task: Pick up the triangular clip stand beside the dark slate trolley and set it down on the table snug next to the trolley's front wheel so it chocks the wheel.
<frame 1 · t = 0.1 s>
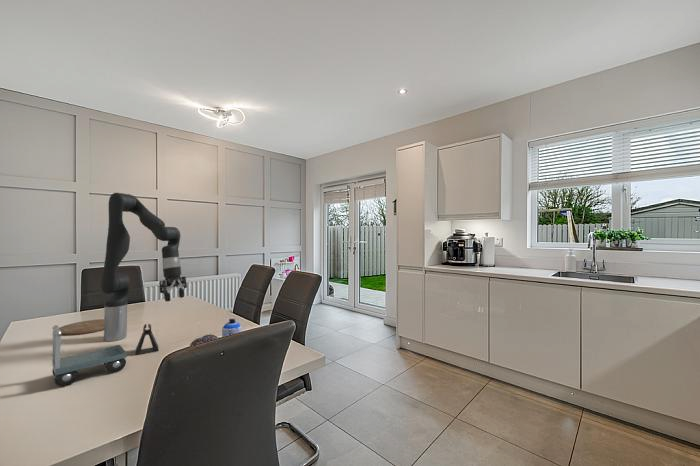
hand: (175, 299, 143), 22 cm above the table, tool pointing down, fingers open, 8 cm apart
trivet: (87, 329, 166), on the table
decorative flower: (201, 363, 123), on the table
trolley: (90, 374, 112), on the table
aerosol can: (231, 368, 118), on the table
triangular clip stand: (146, 351, 134), on the table
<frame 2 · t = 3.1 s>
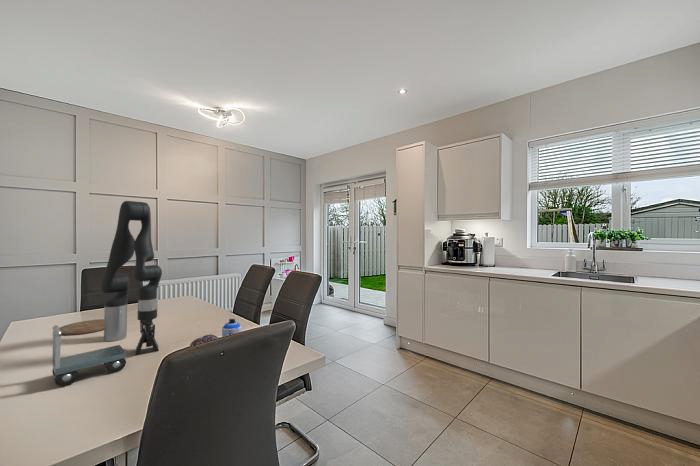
hand: (147, 344, 134), 3 cm above the table, tool pointing down, fingers closed on triangular clip stand, 6 cm apart
triangular clip stand: (146, 351, 134), on the table, touching gripper
everything else where it was.
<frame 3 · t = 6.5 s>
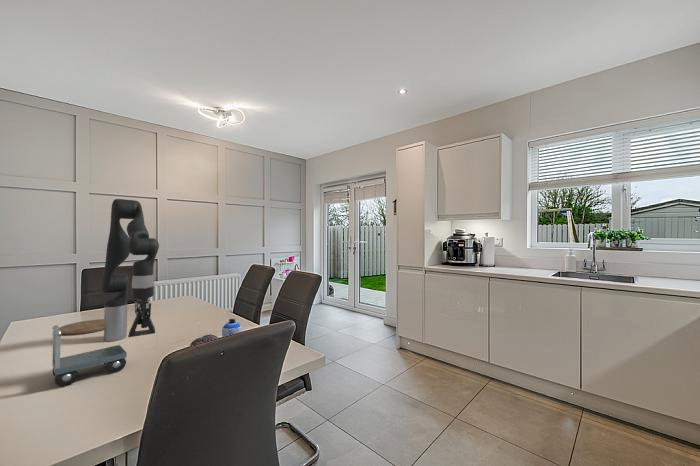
hand: (142, 325, 121), 16 cm above the table, tool pointing down, fingers closed on triangular clip stand, 6 cm apart
triangular clip stand: (142, 333, 121), point 13 cm above the table, touching gripper
everything else where it was.
when the fingers open (4 cm above the table, at t = 9.5 s): triangular clip stand drops 1 cm, on the table.
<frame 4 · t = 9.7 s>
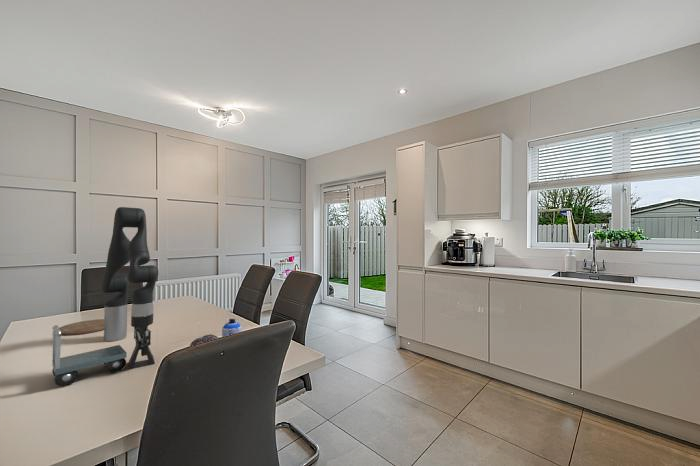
hand: (141, 352, 121), 5 cm above the table, tool pointing down, fingers open, 8 cm apart
triangular clip stand: (141, 364, 121), on the table
everything else where it was.
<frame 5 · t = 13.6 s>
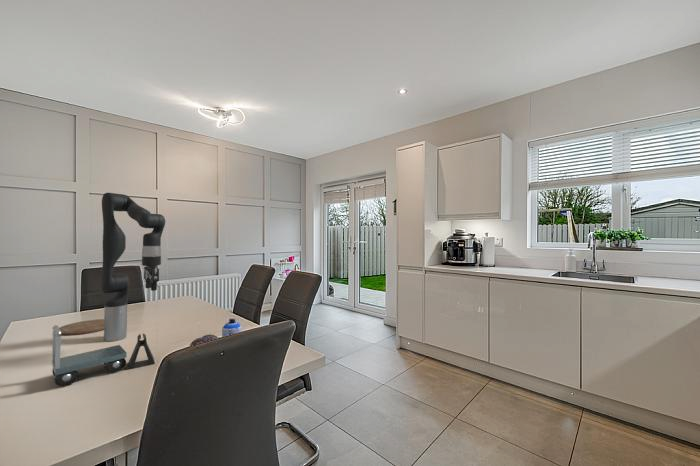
hand: (151, 289, 138), 28 cm above the table, tool pointing down, fingers open, 8 cm apart
nothing on the table moved.
at the end: triangular clip stand 0.3 cm from the target spot, on the table; triangular clip stand tilted 0°; the gripper is holding nothing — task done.
